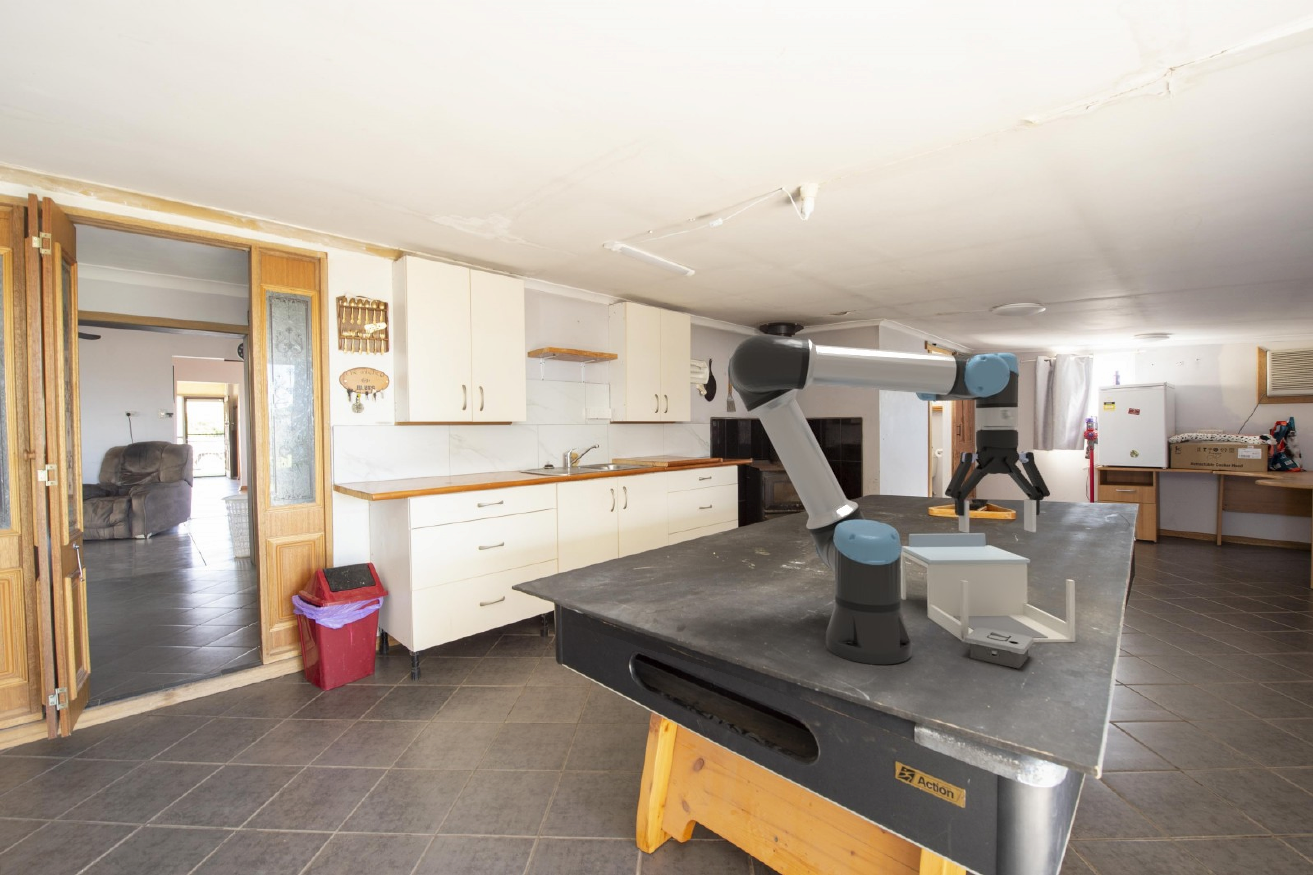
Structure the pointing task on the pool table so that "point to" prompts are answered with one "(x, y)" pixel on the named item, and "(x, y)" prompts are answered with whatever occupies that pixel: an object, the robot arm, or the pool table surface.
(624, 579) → the pool table surface
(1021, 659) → the gray toolbox
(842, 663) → the pool table surface
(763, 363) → the robot arm
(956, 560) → the lid
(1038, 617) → the housing
